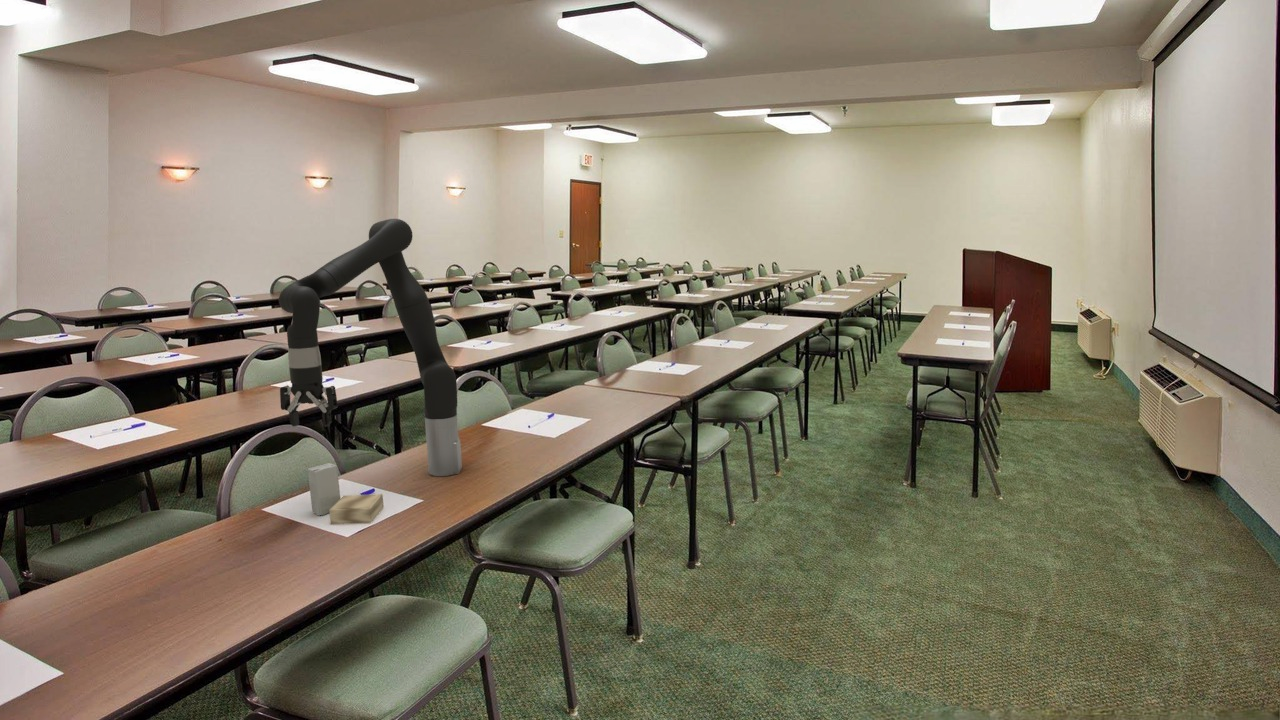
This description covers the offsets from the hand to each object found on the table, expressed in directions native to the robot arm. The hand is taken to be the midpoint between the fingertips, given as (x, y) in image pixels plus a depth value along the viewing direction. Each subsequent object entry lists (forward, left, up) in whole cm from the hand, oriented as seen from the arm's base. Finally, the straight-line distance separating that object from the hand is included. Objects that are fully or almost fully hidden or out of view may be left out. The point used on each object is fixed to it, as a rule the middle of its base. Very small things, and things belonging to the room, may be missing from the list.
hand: (311, 425), depth 190 cm
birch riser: (-13, +9, -22) cm, 27 cm away
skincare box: (-4, +5, -22) cm, 23 cm away
